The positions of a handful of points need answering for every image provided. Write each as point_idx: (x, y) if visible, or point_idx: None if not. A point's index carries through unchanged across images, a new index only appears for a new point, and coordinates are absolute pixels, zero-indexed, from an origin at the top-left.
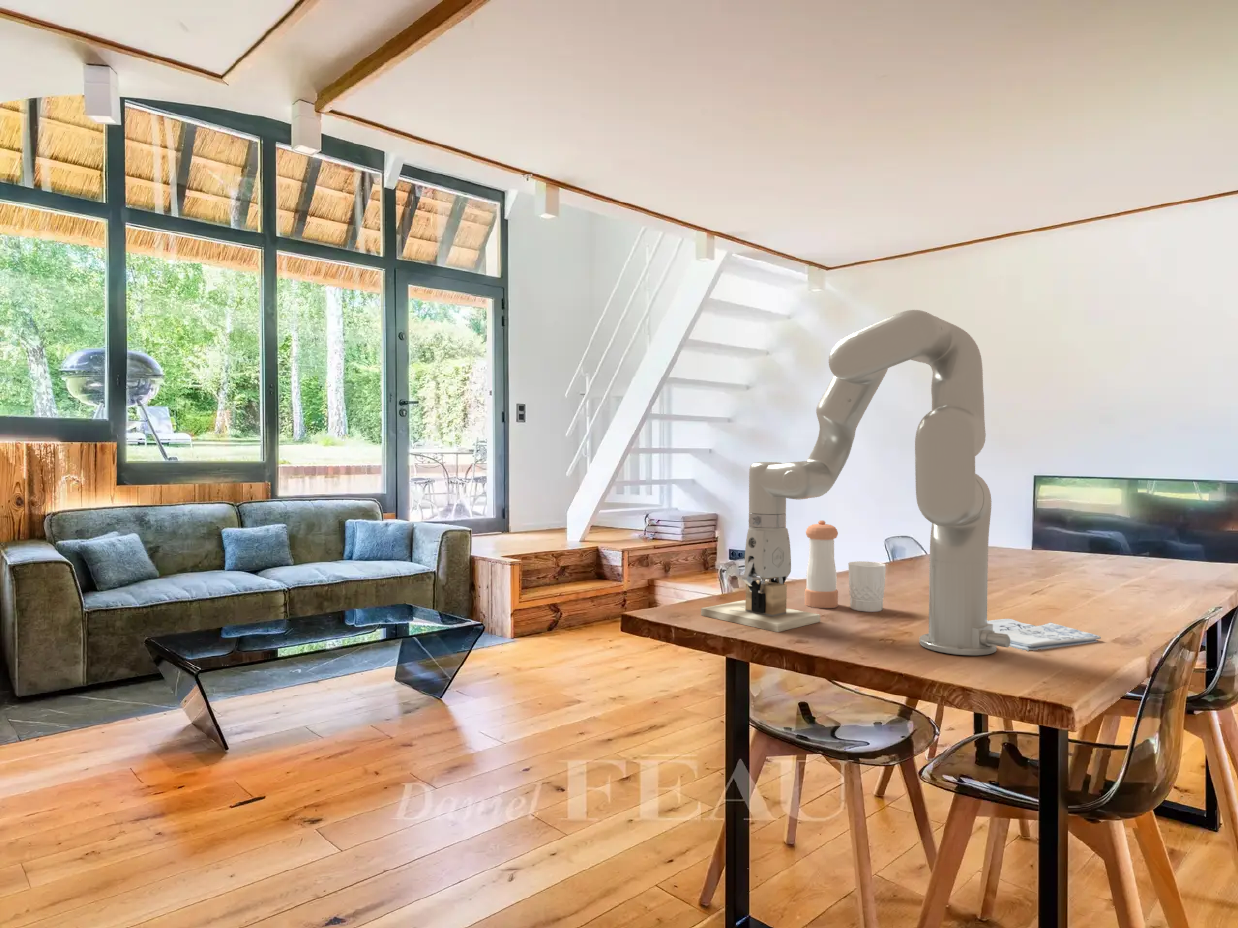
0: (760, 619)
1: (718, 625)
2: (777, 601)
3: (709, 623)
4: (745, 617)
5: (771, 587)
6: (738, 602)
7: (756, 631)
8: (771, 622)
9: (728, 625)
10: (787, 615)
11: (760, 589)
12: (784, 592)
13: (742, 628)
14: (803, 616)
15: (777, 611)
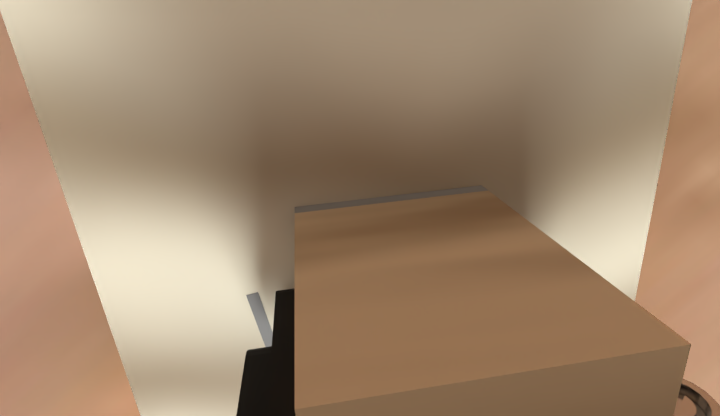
0: (627, 166)
1: (705, 313)
2: (461, 244)
3: (692, 367)
4: (637, 270)
5: (671, 362)
6: None
7: (715, 74)
8: (671, 31)
9: (673, 288)
10: (341, 150)
11: (713, 413)
12: (346, 312)
13: (692, 189)
14: (244, 27)
15: (425, 205)
